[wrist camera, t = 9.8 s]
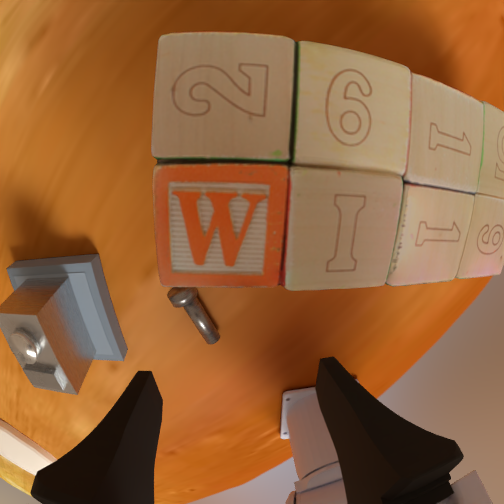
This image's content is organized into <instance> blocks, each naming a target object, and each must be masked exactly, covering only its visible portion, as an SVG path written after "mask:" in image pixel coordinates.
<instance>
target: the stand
mask: <svg viewBox="0 0 504 504" xmlns="http://www.w3.org/2000/svg"><path fill="white" fill-rule="evenodd" d="M7 271H8V274H9V277H10V280H11V283H12V286H13V288H14V291H15V290H16V289H17V288H18V287H19V286H20V285H21V284H22V283H23V282H24V281H25V280H26V279H32V278H54V277H69V278H70V282H71V285H72V288H73V291H74V294H75V297H76V300H77V303H78V305H79V308H80V311H81V314H82V316H83V319H84V322H85V324H86V327H87V329H88V332H89V334H90V337H91V339H92V342H93V344H94V346H95V349H96V351H97V352H96V354H95V356H94V358H93V359H96V360H115V361H124V358H125V356H126V353H127V350H128V349H127V346H126V343H125V340H124V338H123V335H122V332H121V329H120V326H119V323H118V320H117V317H116V314H115V311H114V308H113V305H112V302H111V298H110V295H109V291H108V288H107V284H106V281H105V277H104V273H103V270H102V266H101V262H100V258H99V254H89V255H78V256H66V257H55V258H44V259H33V260H22V261H15V262H14V263H13V264H12V265H10V266H9V267H8V268H7Z"/></svg>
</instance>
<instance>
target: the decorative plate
mask: <svg viewBox="0 0 504 504" xmlns="http://www.w3.org/2000/svg"><path fill="white" fill-rule="evenodd" d="M0 455H2V456H3V457H5V458H6V459H8V460H9V461H11V462H12V463H14V464H16V465H17V466H19V467H21V468H22V469H24V470H26V471H28V472H29V473H31V474H33V475H35V476H36V473H37V471H39V470H41V469H42V468H44V467H46V466H48V465H50V464H52V463H53V462H55V461H57V459H56V458H55V457H53V456H52V455H51V454H50V453H48V452H47V451H46V450H44V449H43V448H42V447H41V446H39V445H38V444H37V443H35V442H34V441H32V440H31V439H29V438H28V437H26V436H25V435H23V434H22V433H20V432H19V431H18V430H16V429H15V428H13V427H12V426H11V425H9V424H7V423H6V422H4V421H2V420H1V419H0Z"/></svg>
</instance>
